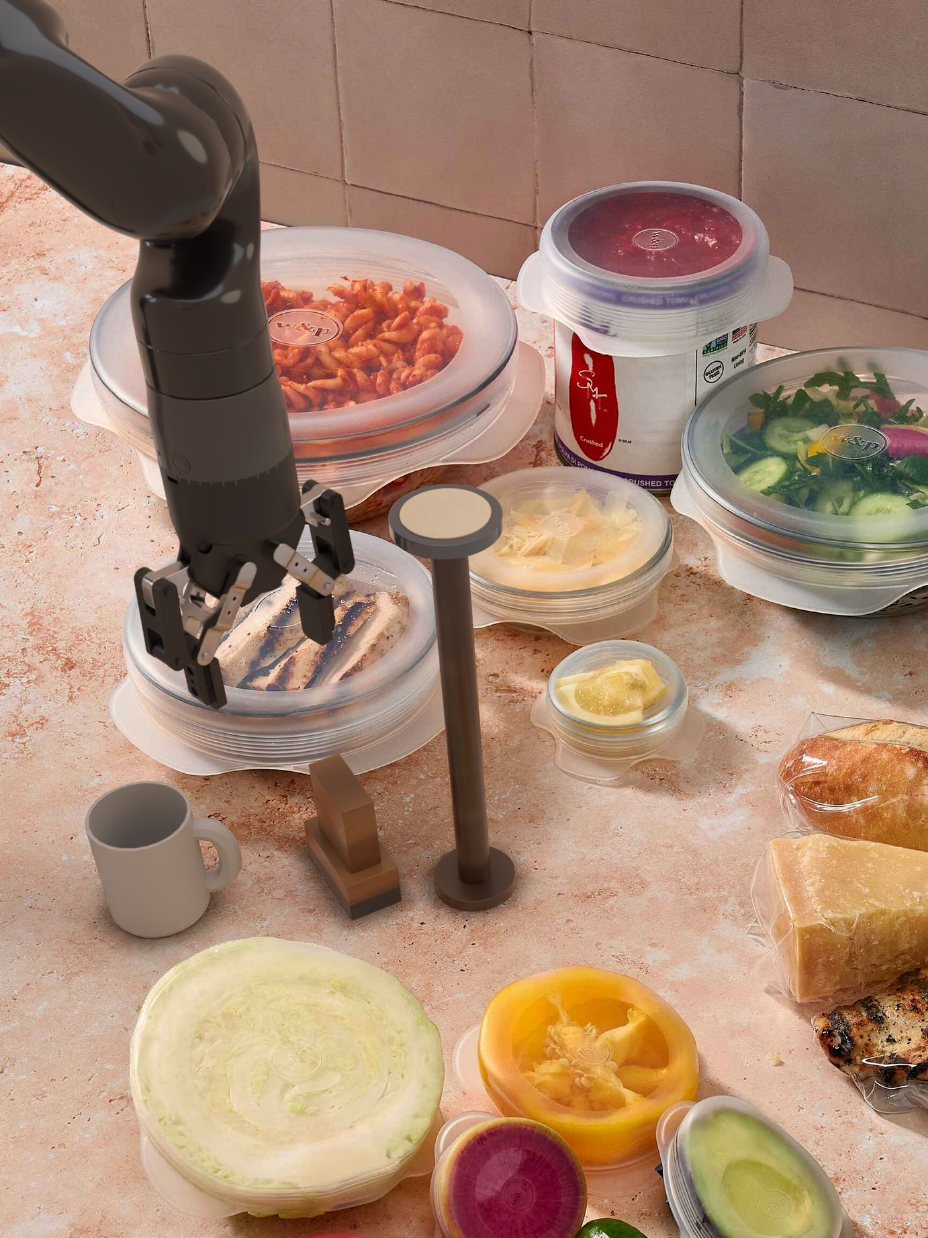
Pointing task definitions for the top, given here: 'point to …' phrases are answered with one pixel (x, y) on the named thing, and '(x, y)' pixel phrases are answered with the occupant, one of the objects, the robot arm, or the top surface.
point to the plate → (446, 521)
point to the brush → (349, 841)
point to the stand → (464, 751)
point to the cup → (157, 857)
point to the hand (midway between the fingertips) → (266, 670)
